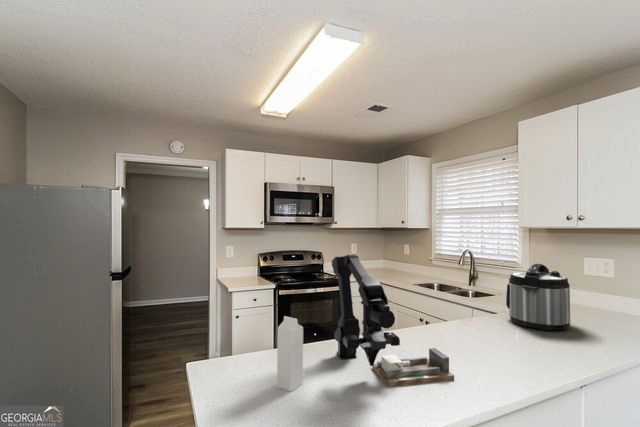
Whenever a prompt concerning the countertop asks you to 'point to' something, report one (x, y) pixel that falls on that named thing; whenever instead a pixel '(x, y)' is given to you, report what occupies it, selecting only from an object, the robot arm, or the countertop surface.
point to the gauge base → (418, 370)
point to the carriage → (393, 363)
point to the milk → (290, 354)
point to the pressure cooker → (539, 299)
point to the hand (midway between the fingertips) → (371, 365)
